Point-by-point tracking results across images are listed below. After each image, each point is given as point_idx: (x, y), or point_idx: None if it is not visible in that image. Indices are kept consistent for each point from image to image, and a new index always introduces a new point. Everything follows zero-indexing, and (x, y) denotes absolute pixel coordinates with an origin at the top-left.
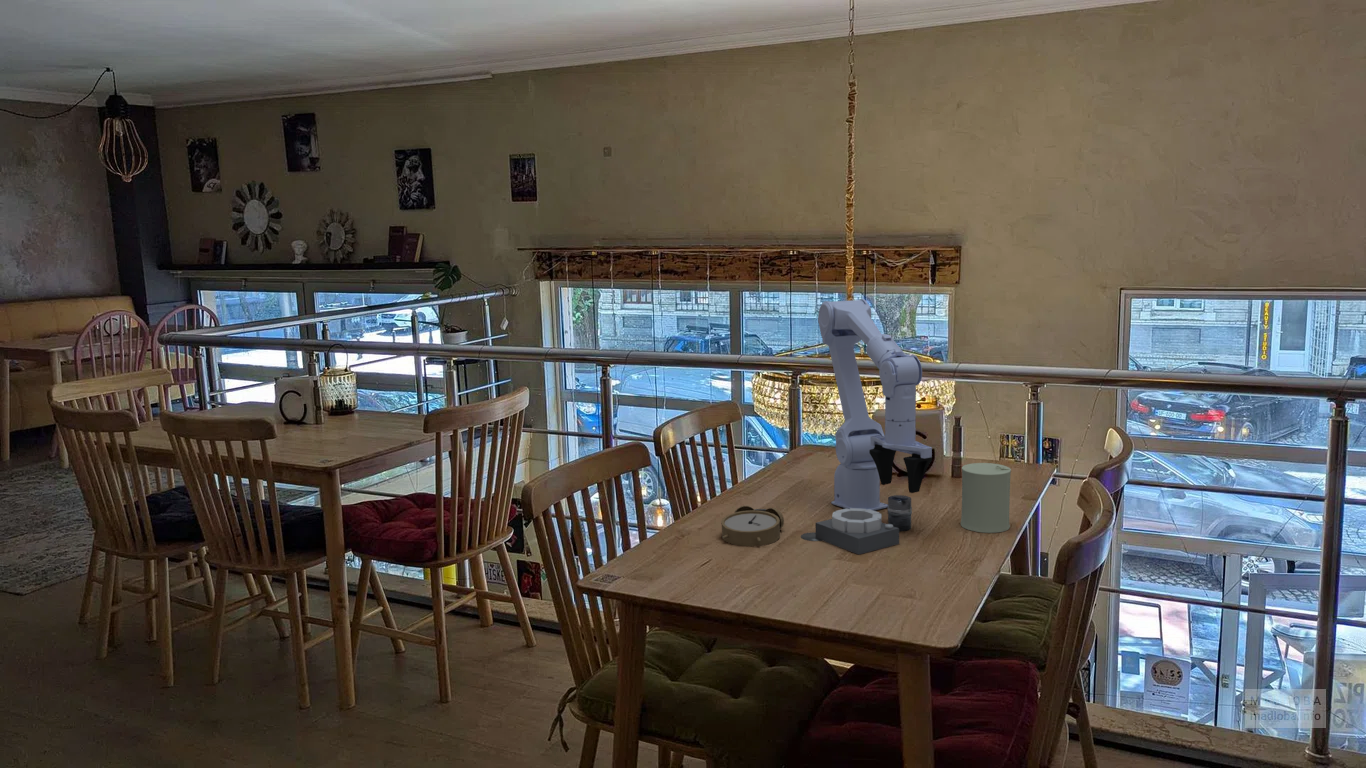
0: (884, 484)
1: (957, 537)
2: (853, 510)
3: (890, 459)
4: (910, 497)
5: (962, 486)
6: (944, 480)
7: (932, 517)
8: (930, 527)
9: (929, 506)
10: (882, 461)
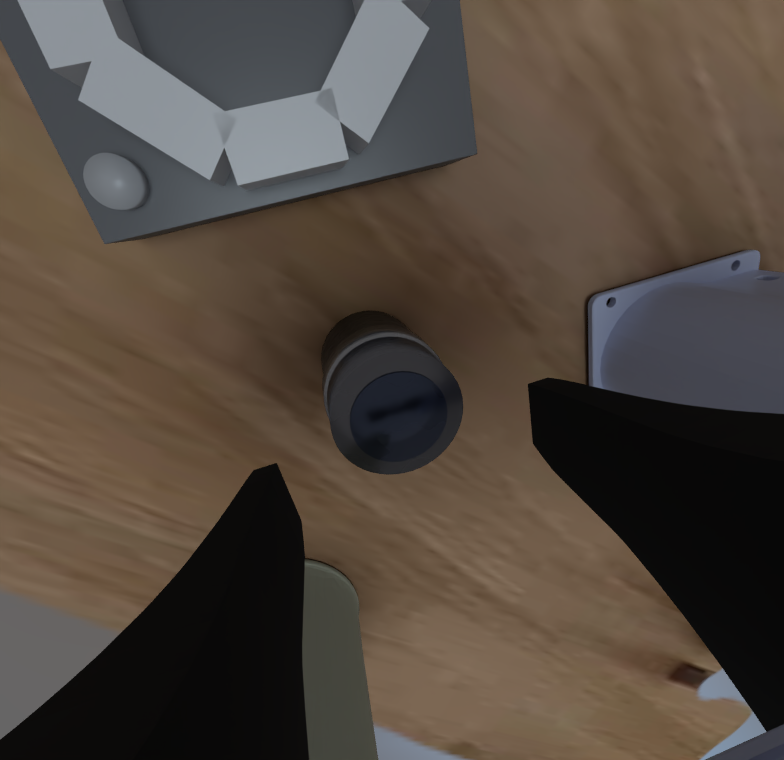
0: (529, 393)
1: (178, 503)
2: (361, 10)
3: (682, 576)
4: (385, 473)
5: (311, 727)
6: (678, 643)
7: (429, 512)
8: (329, 465)
9: (529, 544)
10: (689, 485)
